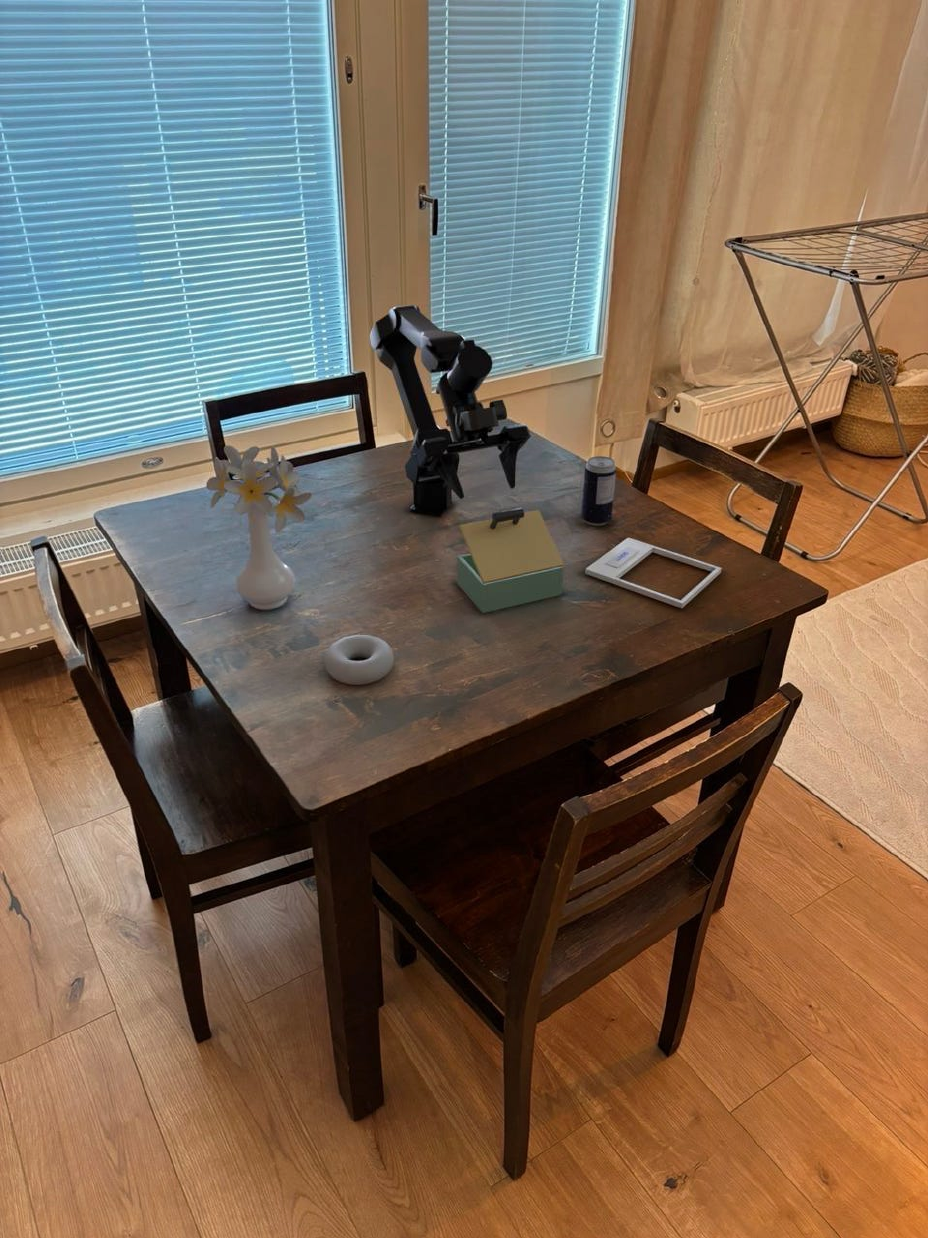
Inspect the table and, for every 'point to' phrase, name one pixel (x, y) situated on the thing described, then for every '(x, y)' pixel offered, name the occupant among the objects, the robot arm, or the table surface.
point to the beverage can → (598, 490)
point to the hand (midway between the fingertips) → (487, 492)
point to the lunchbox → (507, 586)
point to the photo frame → (631, 555)
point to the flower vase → (261, 519)
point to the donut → (359, 671)
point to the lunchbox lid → (511, 545)
